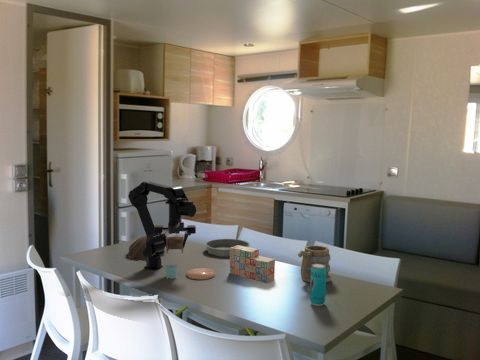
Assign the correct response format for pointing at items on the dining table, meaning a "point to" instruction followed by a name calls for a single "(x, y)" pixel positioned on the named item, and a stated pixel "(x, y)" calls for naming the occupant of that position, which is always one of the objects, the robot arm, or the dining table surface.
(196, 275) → the dish
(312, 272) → the beverage can
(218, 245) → the cake pan
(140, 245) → the decorative dome
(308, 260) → the tankard
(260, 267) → the stack of blocks
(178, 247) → the brown wooden open box
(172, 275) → the block
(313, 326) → the dining table surface
